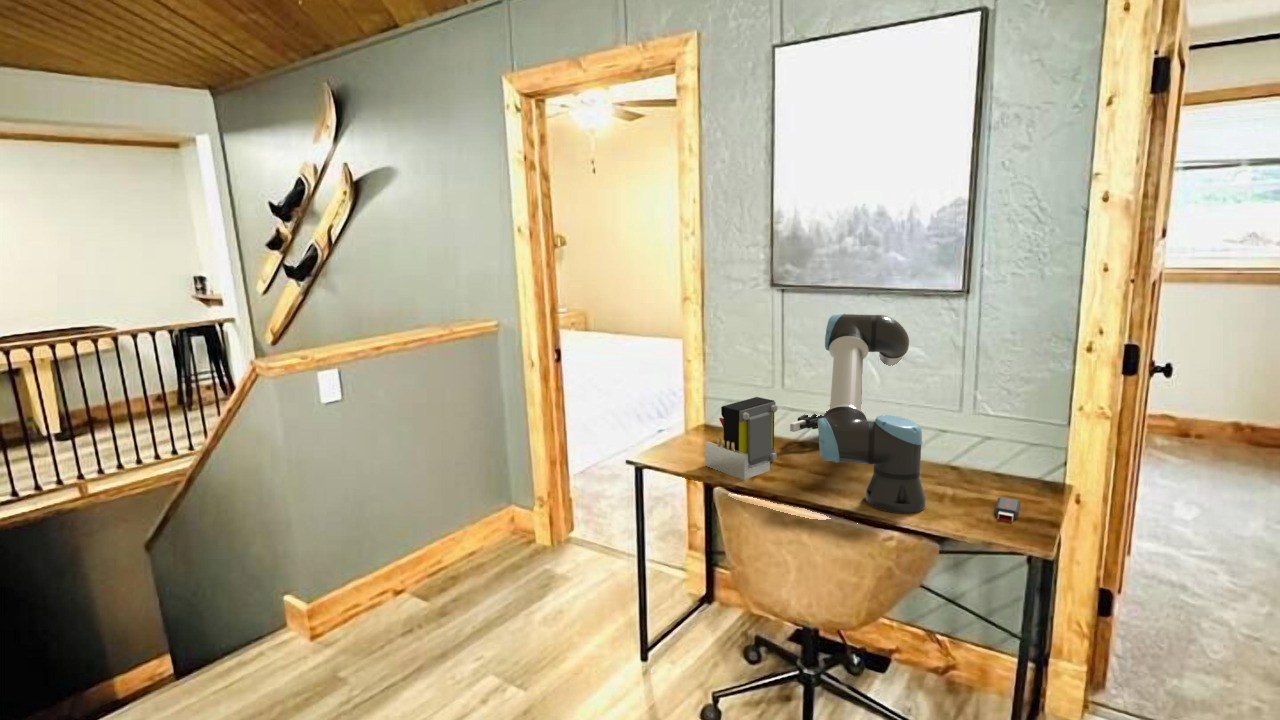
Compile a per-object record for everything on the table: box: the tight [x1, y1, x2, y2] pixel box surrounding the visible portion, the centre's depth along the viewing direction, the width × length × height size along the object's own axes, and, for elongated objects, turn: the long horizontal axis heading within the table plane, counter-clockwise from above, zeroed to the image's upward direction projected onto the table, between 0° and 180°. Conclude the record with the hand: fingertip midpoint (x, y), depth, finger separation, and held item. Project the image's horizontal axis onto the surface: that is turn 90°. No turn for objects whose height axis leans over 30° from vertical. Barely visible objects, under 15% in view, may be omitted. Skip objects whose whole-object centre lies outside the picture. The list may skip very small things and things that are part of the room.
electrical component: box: [719, 396, 778, 466], centre depth 209 cm, size 18×10×20 cm, turn 131°
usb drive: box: [994, 496, 1021, 523], centre depth 169 cm, size 5×12×3 cm, turn 147°
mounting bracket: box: [704, 437, 771, 481], centre depth 205 cm, size 17×12×10 cm
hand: (792, 427), depth 221 cm, fingers closed
